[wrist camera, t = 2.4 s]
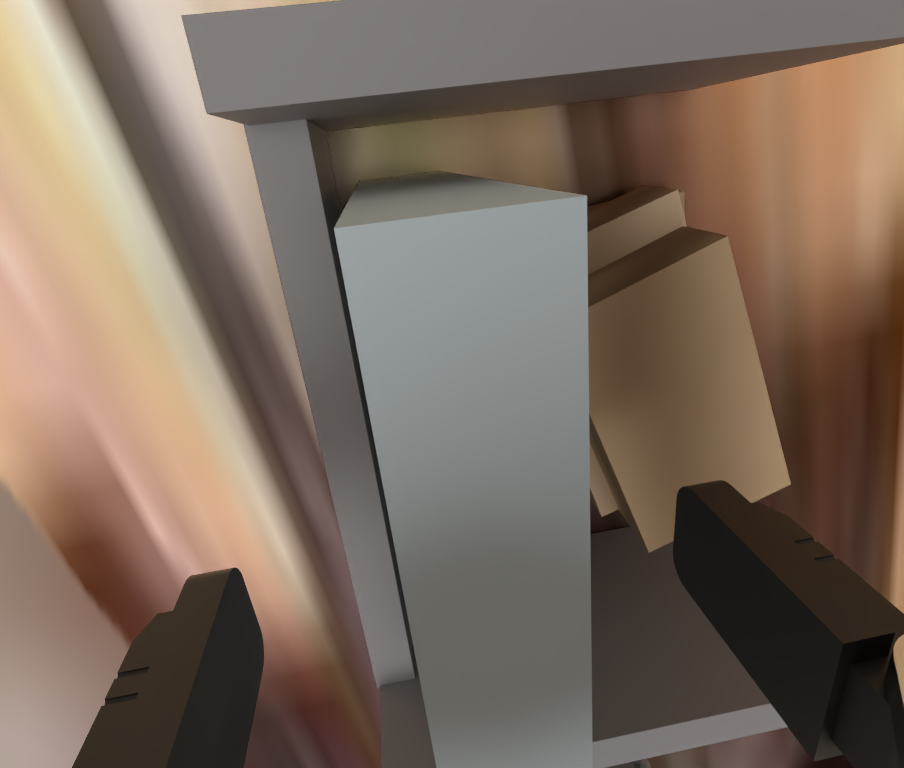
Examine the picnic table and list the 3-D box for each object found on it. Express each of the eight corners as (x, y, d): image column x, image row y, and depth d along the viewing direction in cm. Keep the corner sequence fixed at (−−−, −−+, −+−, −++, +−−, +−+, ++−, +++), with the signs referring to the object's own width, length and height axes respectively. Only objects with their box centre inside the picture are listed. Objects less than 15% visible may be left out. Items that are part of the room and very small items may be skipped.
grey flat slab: (439, 171, 16) (586, 195, 5) (478, 524, 21) (594, 914, 10) (358, 180, 16) (333, 228, 5) (418, 535, 21) (470, 944, 10)
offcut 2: (682, 226, 15) (727, 235, 13) (747, 450, 18) (790, 484, 16) (529, 305, 15) (551, 326, 13) (620, 512, 18) (648, 552, 16)
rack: (694, 42, 16) (978, -60, 8) (665, 542, 23) (804, 723, 16) (272, 88, 15) (174, 16, 7) (380, 596, 22) (385, 816, 15)
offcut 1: (643, 185, 16) (677, 189, 14) (706, 426, 20) (741, 454, 18) (488, 258, 16) (504, 271, 14) (580, 483, 20) (601, 516, 18)
